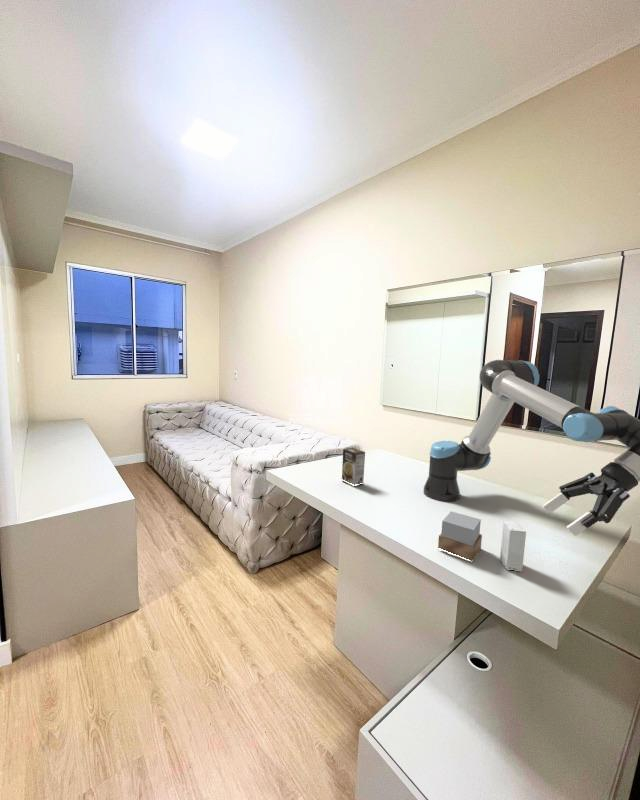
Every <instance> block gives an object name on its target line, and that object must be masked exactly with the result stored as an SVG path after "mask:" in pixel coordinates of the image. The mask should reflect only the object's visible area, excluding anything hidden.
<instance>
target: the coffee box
mask: <svg viewBox="0 0 640 800" xmlns="http://www.w3.org/2000/svg"><path fill="white" fill-rule="evenodd" d="M365 459H366V451H365V450H360V449H357V448H354V447H349V448H342V467H341V468H342V470H341V480H342V479H343V480H345V481H347V482H349V483H352V484H354V485H355V484H360V483H363V484H364V477H365V464H366V463H365Z"/></svg>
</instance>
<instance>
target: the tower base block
mask: <svg viewBox="0 0 640 800" xmlns="http://www.w3.org/2000/svg"><path fill="white" fill-rule="evenodd" d="M482 538H483V534H482V533H480V534H479V536H478V538H477V540H476V541H475V543H474V545H473V546H469V545H466V544H463V543H460V542H457V541H454V540H451V539H448V538H445V537H442V536H441V533H440V535H438V543H437V545H438V546H437V549H438V548H441V549H443V550H446V551H448V552H451V553H453V554H456V555H459V556H461V557H464V558H466V559H469V560H471V561H472V560H473V559H474V558H475V559H476V557H477V556H476V555H478V554H479V553H480V551H481V549H482ZM479 550H480V551H479ZM478 552H479V553H478ZM477 553H478V554H477ZM475 556H476V557H475ZM475 559H474V560H475Z"/></svg>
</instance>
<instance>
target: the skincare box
mask: <svg viewBox="0 0 640 800" xmlns="http://www.w3.org/2000/svg"><path fill="white" fill-rule="evenodd" d="M501 535H502V536H501V545H500V557H499V559H500V562H501V563H502V565H503V567H504V566H505V567H504V568H506V569H507V570H506V569H505V570H506V571H508V570H515V571H514V572H516V571H522V572H523V566H524V557H525V546H526V538H527V531H526V530H525V529H524V528H523V527H522V525H521V524H520V523H519V522H517V521H516V522H515V521H507V520H503V526H502V533H501Z"/></svg>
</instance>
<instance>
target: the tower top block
mask: <svg viewBox="0 0 640 800" xmlns="http://www.w3.org/2000/svg"><path fill="white" fill-rule="evenodd" d="M481 521H482V519H480V518H477V517H473V516H470V515H466V514H463V513H458V512H456V511H452V510H451V511H450V512H449V513H448V514H447V515H446V516H445V517H444V518H443V520H442V522H441V533H440V534H441V536H442V537H445V538H448V539H451V540H454V541H457V542H460V543H463V544H466V545H469V546H473V545H474V543H475V541H476V540H477V538H478V536H479V534H481V533H480V531H481Z"/></svg>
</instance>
